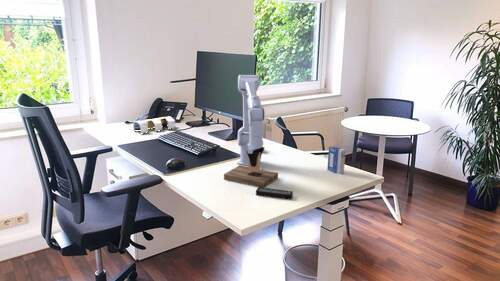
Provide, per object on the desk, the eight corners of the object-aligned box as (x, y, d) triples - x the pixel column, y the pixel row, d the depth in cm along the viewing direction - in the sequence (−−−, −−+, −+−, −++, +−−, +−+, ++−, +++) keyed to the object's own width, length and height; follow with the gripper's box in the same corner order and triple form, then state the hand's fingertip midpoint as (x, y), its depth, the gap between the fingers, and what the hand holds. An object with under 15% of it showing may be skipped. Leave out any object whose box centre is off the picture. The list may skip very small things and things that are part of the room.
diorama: (140, 135, 245) (139, 115, 241) (133, 132, 252) (132, 112, 248) (175, 129, 261) (174, 110, 257) (167, 126, 268) (166, 108, 264)
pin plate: (239, 170, 184) (239, 165, 183) (277, 177, 175) (278, 172, 174) (223, 179, 172) (223, 174, 171) (263, 188, 163) (264, 182, 162)
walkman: (327, 169, 186) (328, 146, 183) (331, 168, 188) (332, 145, 184) (339, 174, 180) (341, 150, 177) (343, 173, 182) (345, 149, 178)
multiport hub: (258, 192, 160) (258, 186, 159) (292, 196, 156) (293, 191, 156) (255, 196, 156) (255, 190, 155) (290, 200, 152) (291, 195, 151)
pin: (251, 168, 174) (252, 151, 172) (260, 169, 172) (260, 152, 170) (248, 170, 170) (248, 153, 168) (257, 172, 169) (257, 154, 167)
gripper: (253, 130, 175) (252, 158, 178) (240, 138, 162) (240, 168, 165) (267, 132, 172) (267, 160, 176) (256, 139, 159) (256, 170, 163)
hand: (255, 164), depth 171 cm, fingers closed on pin, 4 cm apart
